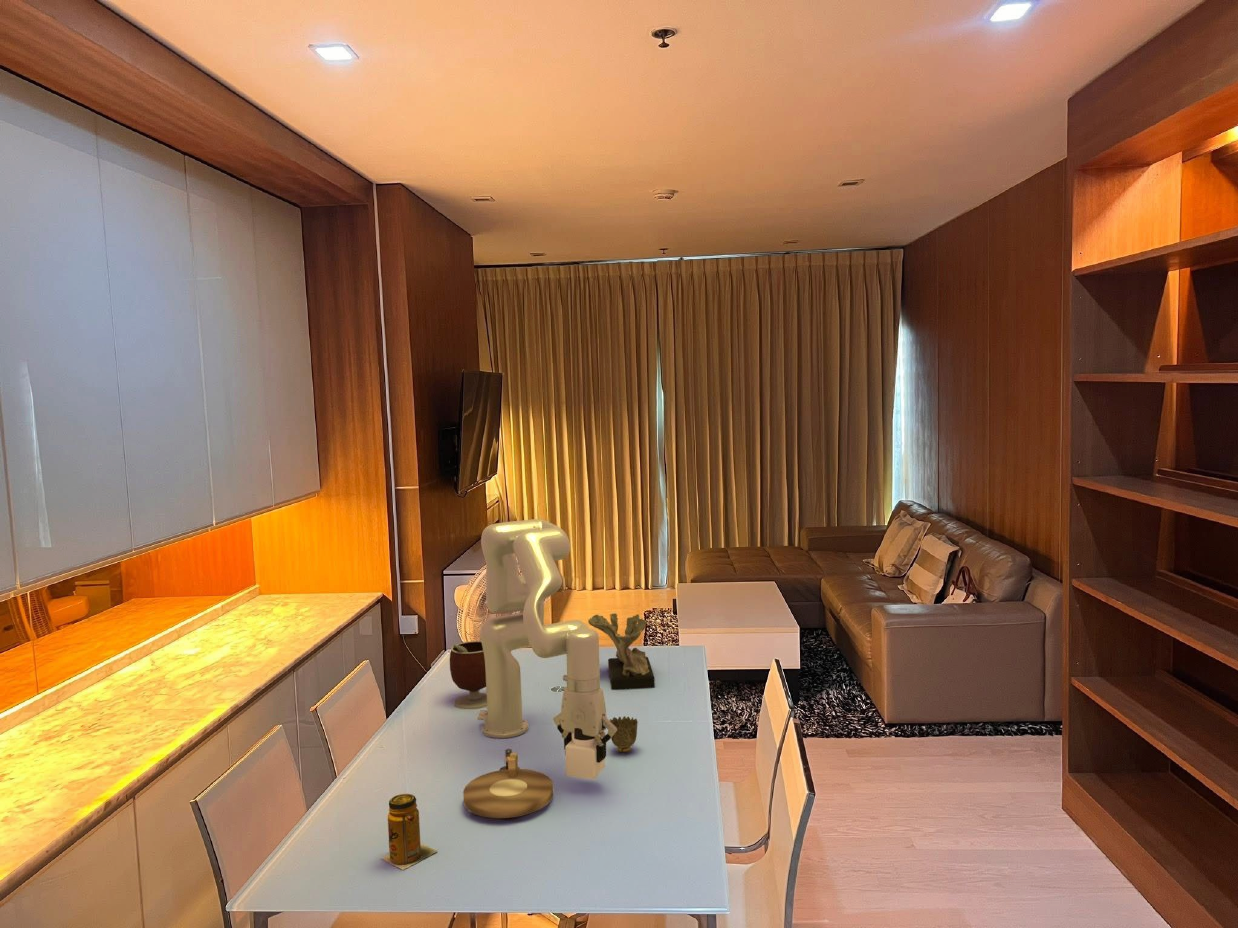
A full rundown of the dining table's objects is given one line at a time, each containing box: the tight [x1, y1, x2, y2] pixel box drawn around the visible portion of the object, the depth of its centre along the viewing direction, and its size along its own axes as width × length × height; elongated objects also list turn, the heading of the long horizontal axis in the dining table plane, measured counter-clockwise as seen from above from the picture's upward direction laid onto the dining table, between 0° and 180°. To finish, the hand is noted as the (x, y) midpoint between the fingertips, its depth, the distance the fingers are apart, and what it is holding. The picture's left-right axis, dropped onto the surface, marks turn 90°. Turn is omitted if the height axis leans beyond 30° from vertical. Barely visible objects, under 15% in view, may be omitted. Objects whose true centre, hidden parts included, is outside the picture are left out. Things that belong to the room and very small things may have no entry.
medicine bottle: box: [564, 728, 606, 780], centre depth 194 cm, size 7×7×12 cm
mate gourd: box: [449, 640, 487, 710], centre depth 254 cm, size 16×14×20 cm
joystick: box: [498, 748, 521, 771], centre depth 203 cm, size 7×5×6 cm
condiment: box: [381, 793, 438, 871], centre depth 167 cm, size 7×8×12 cm
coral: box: [587, 613, 656, 691], centre depth 270 cm, size 25×20×22 cm
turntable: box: [462, 752, 554, 819], centre depth 188 cm, size 20×20×6 cm
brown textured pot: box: [609, 715, 639, 754], centre depth 214 cm, size 8×7×8 cm
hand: (585, 756), depth 194 cm, fingers closed on medicine bottle, 7 cm apart
